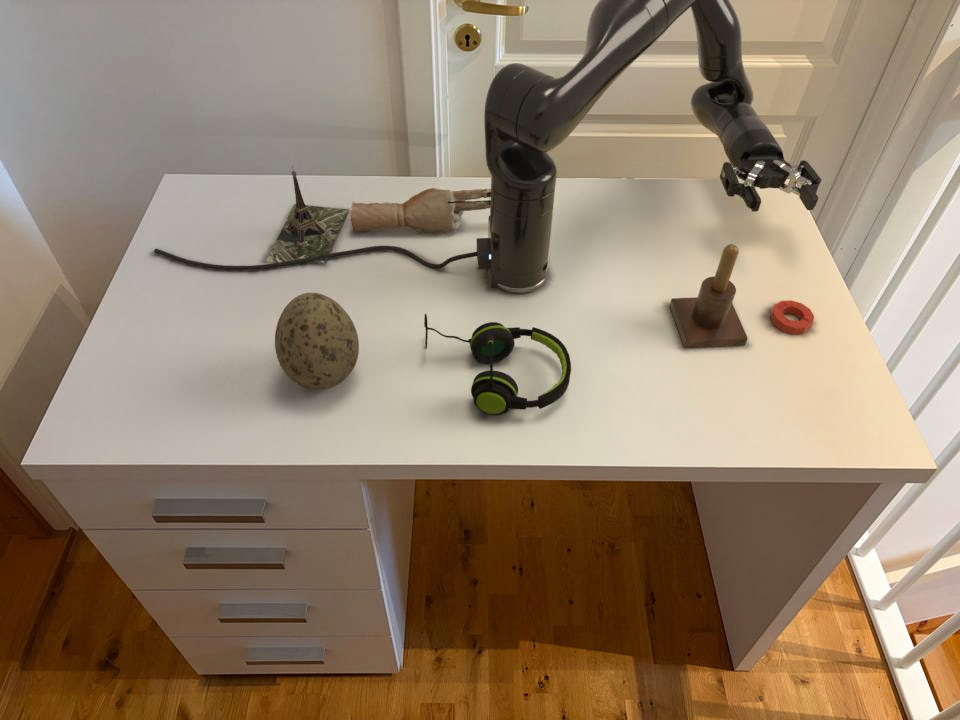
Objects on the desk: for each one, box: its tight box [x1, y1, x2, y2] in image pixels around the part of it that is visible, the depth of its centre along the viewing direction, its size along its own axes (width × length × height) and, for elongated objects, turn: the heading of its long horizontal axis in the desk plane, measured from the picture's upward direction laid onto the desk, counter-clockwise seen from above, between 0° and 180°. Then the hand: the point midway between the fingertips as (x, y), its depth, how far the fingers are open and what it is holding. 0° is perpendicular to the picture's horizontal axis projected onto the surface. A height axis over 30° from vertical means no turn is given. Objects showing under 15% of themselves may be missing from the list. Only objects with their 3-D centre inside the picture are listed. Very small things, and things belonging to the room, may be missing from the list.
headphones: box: [423, 313, 572, 416], centre depth 98 cm, size 16×10×20 cm
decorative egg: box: [274, 292, 360, 391], centre depth 95 cm, size 11×11×15 cm
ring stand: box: [669, 243, 749, 349], centre depth 103 cm, size 9×9×15 cm
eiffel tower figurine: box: [265, 164, 350, 264], centre depth 117 cm, size 15×10×13 cm
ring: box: [769, 299, 815, 335], centre depth 109 cm, size 6×6×1 cm
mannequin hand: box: [349, 187, 491, 233], centre depth 121 cm, size 7×7×25 cm
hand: (785, 206), depth 109 cm, fingers open, 8 cm apart
